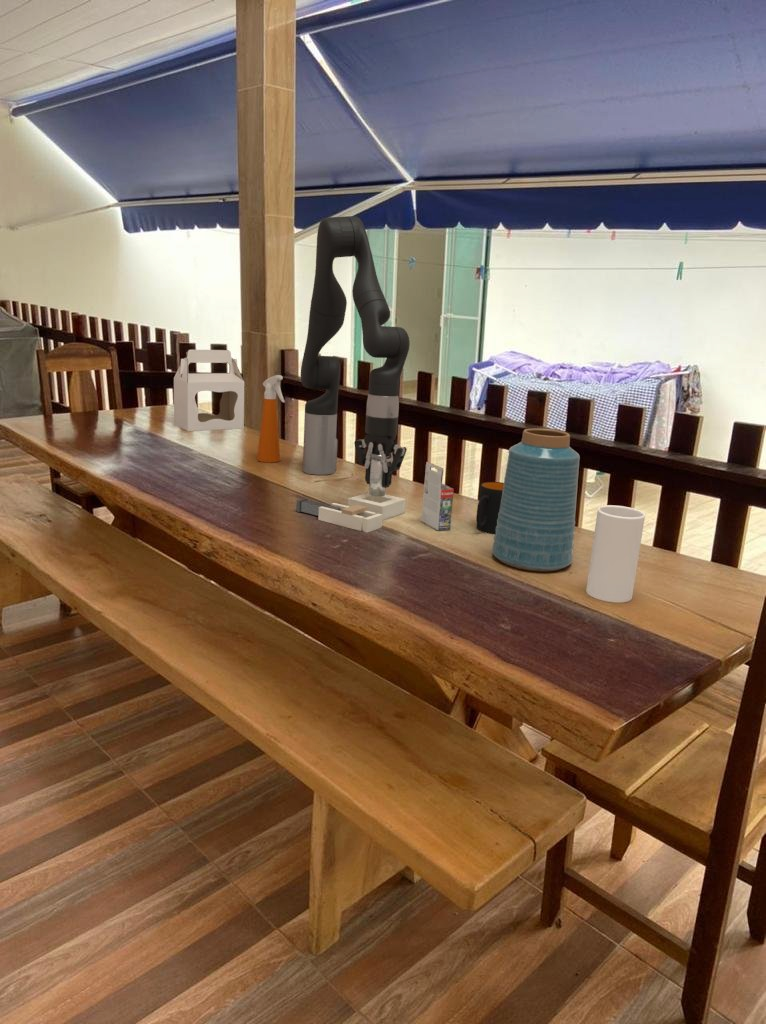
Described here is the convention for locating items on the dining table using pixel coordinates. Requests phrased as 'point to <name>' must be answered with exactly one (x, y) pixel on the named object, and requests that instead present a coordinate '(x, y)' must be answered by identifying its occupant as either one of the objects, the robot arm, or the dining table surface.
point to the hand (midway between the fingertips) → (377, 485)
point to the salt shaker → (376, 476)
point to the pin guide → (351, 517)
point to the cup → (615, 553)
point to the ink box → (436, 499)
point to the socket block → (380, 504)
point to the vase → (538, 503)
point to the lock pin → (311, 506)
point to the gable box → (216, 382)
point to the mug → (489, 506)
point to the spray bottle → (270, 422)
